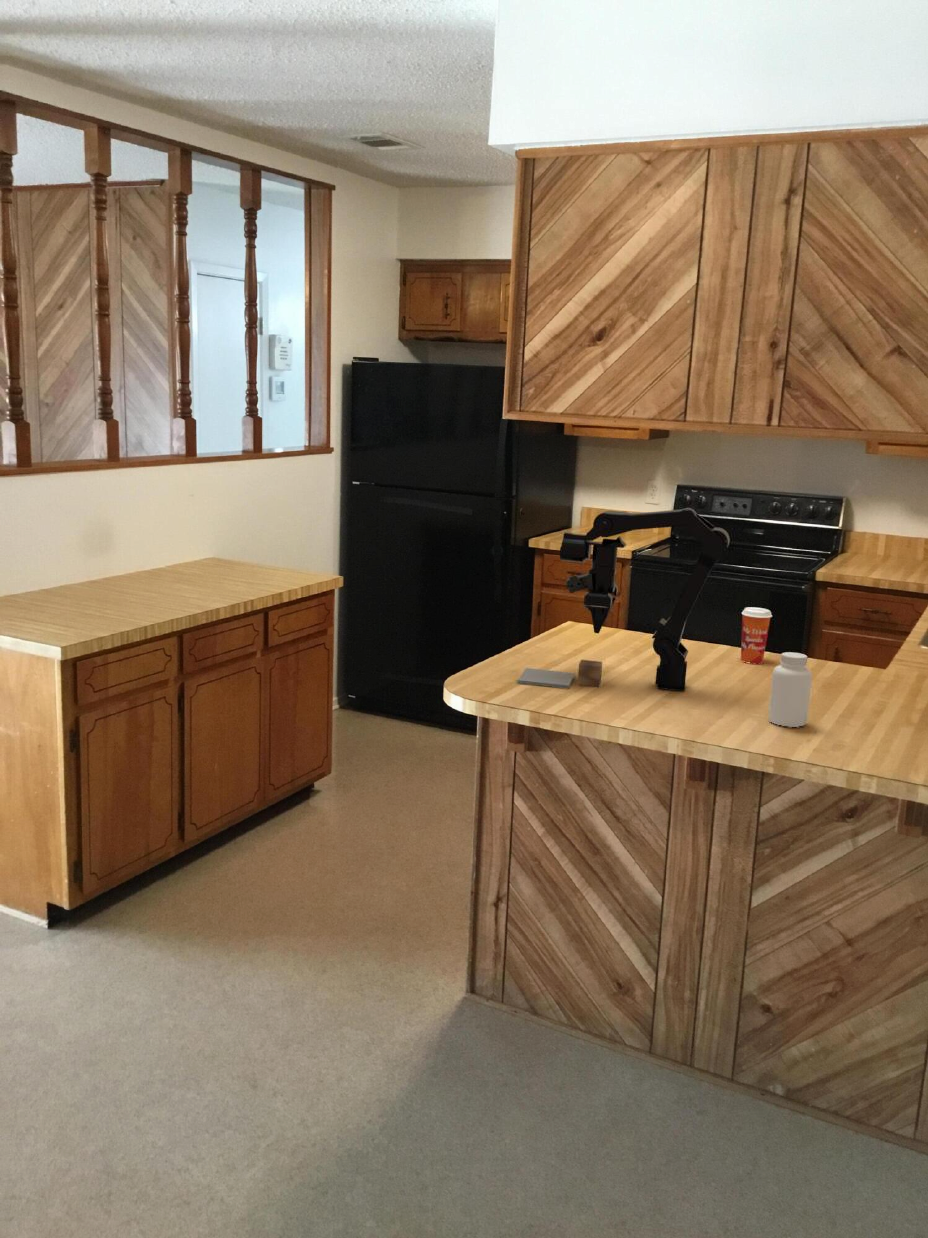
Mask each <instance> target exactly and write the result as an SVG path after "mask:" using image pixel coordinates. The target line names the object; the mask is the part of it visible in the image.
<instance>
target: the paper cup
mask: <svg viewBox="0 0 928 1238" xmlns="http://www.w3.org/2000/svg"><path fill="white" fill-rule="evenodd" d="M741 614H742V620H741V621H742V623H741V643H740V644H741V645H740V647H741V648H740V661H741V660H742V661H745V662H750V663H761V662H762V663H763V662H764V656H765V652H766V647H767V640H768V633H769V628H770V623H771V622H770V621H771V618H772V617H773V615H772V612H771V610H769V609H767V608H762V607H755V606H753V607H752V606H751V607H749V606H748V607H747V606H746V607H744V609H743V610H742V612H741ZM742 661H741V662H742Z"/></svg>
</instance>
